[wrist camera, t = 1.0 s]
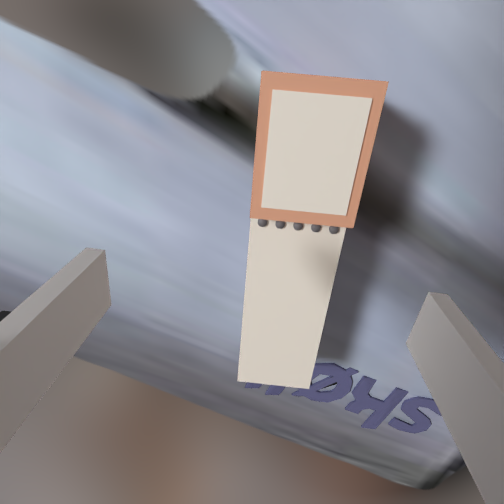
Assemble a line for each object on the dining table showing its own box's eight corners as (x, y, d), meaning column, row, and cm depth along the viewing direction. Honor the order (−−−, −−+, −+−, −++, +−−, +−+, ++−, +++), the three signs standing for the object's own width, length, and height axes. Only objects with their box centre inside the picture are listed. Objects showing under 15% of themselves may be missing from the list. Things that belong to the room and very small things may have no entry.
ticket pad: (256, 186, 34) (251, 213, 27) (332, 193, 34) (347, 223, 27) (243, 332, 43) (237, 382, 36) (303, 339, 43) (309, 390, 36)
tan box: (266, 75, 29) (261, 70, 20) (354, 83, 29) (389, 81, 20) (256, 183, 34) (249, 218, 25) (333, 190, 34) (353, 228, 25)
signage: (453, 407, 46) (411, 445, 51) (450, 402, 47) (409, 440, 52) (272, 341, 43) (244, 388, 48) (272, 338, 44) (245, 384, 48)
